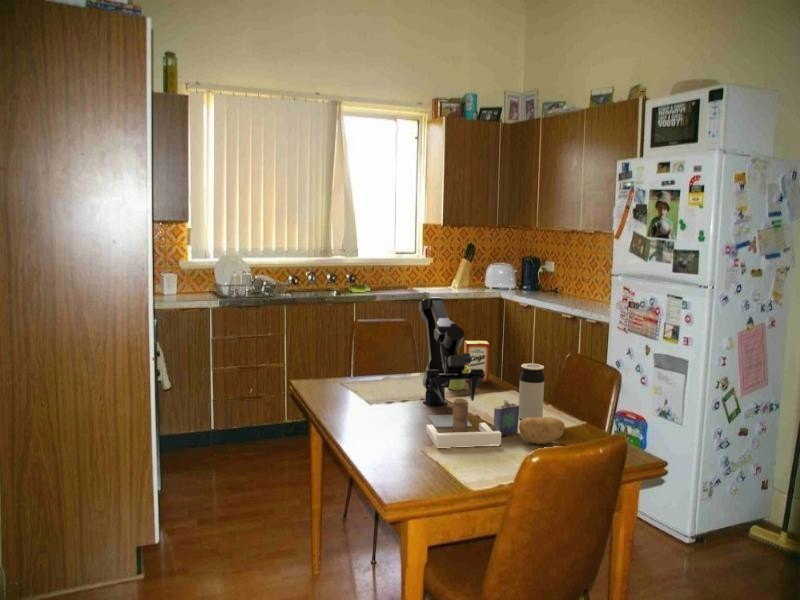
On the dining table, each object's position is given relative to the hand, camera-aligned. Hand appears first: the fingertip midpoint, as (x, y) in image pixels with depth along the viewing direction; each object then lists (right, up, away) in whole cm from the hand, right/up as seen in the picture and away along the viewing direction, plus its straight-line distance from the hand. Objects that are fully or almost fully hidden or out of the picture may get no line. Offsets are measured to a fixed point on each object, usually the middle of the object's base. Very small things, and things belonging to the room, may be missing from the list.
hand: (458, 400), depth 203 cm
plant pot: (+4, -4, +53) cm, 53 cm away
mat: (-2, -9, +12) cm, 15 cm away
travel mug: (+25, -9, +17) cm, 32 cm away
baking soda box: (+13, -2, +68) cm, 69 cm away
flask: (+15, -11, 0) cm, 18 cm away
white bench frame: (+1, -11, -5) cm, 12 cm away
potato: (+24, -12, -7) cm, 28 cm away
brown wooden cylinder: (0, -10, -2) cm, 10 cm away
